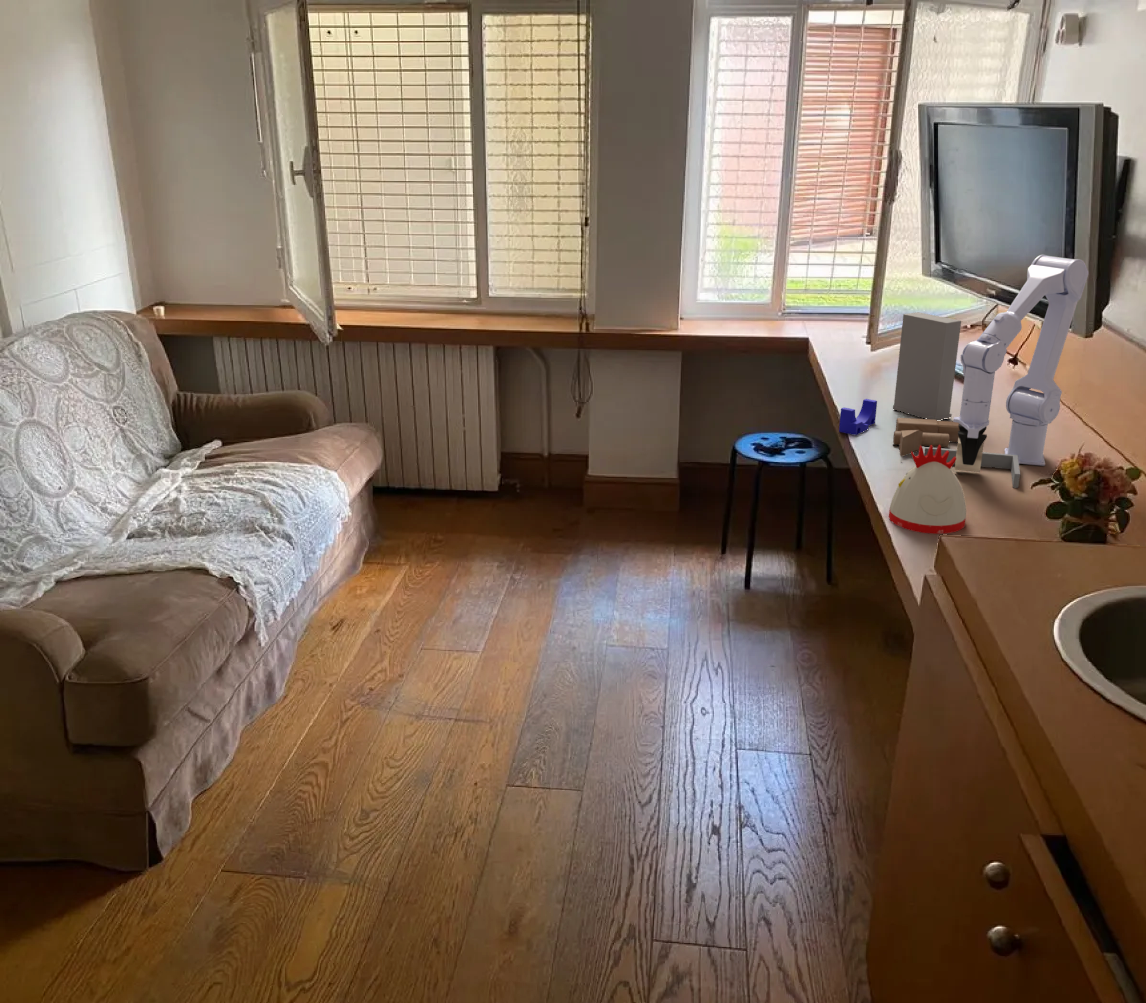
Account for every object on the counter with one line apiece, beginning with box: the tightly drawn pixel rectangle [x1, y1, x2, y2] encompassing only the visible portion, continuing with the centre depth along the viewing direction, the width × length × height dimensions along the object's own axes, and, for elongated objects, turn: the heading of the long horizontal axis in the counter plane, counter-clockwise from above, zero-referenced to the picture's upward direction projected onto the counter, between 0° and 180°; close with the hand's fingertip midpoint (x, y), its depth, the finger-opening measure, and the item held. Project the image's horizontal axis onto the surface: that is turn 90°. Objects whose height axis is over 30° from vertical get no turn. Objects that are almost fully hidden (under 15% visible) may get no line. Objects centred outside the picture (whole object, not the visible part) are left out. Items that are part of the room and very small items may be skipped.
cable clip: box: [838, 398, 878, 436], centre depth 250 cm, size 12×4×6 cm, turn 136°
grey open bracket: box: [922, 446, 1021, 489], centre depth 219 cm, size 13×20×3 cm, turn 70°
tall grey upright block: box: [892, 311, 962, 420], centre depth 257 cm, size 14×6×25 cm, turn 31°
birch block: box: [954, 438, 984, 473], centre depth 217 cm, size 4×5×6 cm
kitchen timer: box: [888, 445, 967, 535], centre depth 192 cm, size 14×14×15 cm
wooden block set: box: [892, 417, 960, 457], centre depth 236 cm, size 17×6×18 cm
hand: (968, 460), depth 218 cm, fingers closed on birch block, 4 cm apart
